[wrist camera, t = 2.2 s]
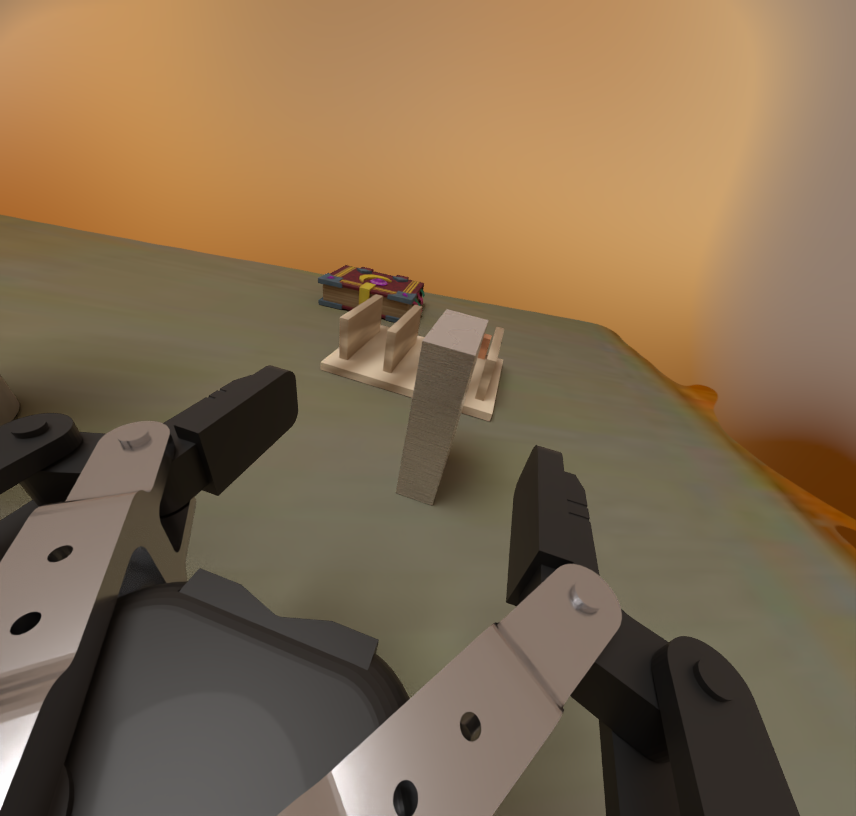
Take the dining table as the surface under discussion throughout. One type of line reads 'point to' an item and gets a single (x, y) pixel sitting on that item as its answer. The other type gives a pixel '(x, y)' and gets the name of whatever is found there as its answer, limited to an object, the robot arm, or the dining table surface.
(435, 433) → the aluminium block
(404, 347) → the slot rack
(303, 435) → the dining table surface
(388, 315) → the decorative book
